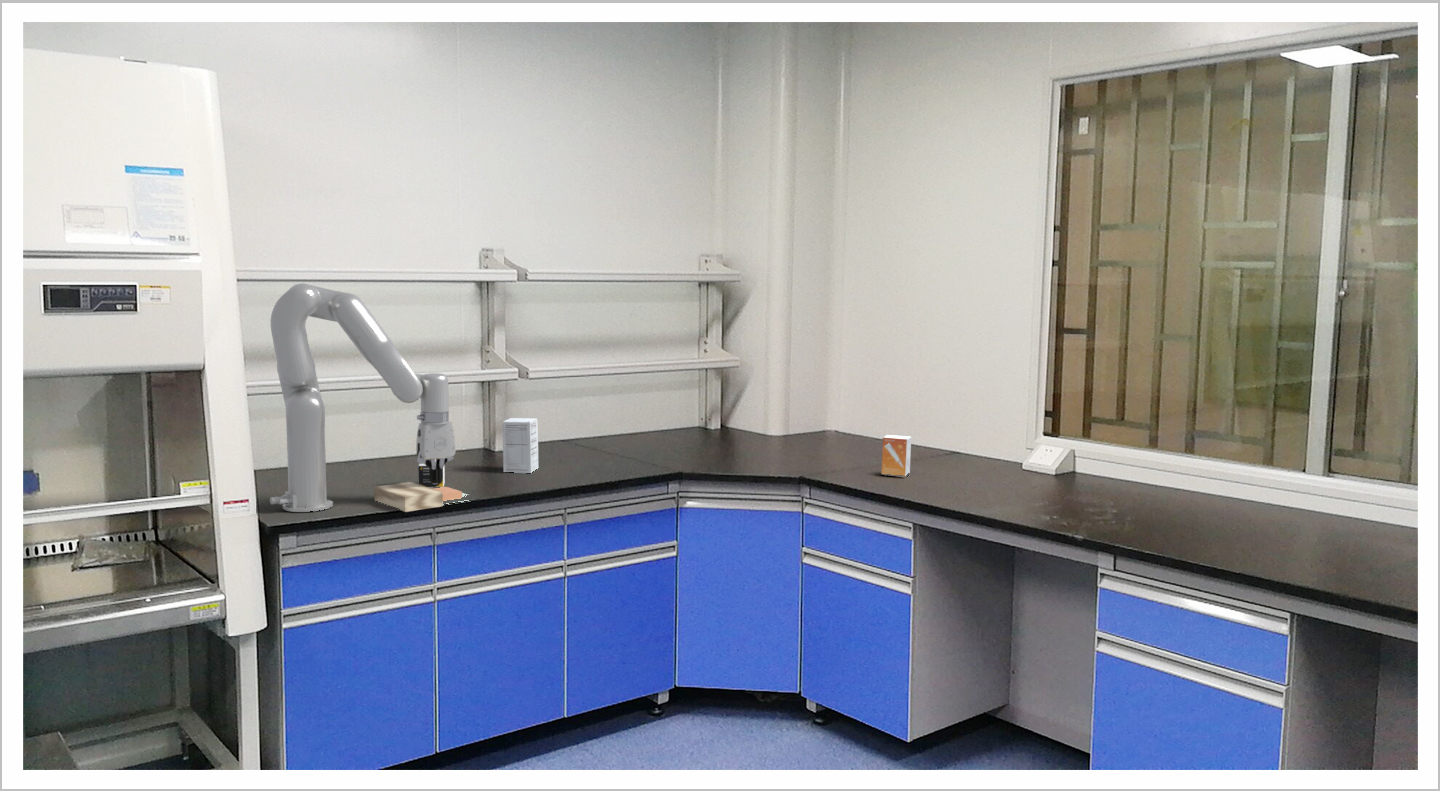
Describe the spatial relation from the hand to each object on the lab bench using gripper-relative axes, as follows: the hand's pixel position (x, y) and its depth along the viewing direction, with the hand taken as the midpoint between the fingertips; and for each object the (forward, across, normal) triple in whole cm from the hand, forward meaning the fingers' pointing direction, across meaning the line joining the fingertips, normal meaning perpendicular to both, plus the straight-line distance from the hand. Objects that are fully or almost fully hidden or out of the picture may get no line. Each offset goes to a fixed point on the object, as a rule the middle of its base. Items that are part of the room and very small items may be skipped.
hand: (435, 482), depth 300 cm
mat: (+5, +4, 0) cm, 6 cm away
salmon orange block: (+3, +2, 0) cm, 4 cm away
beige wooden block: (+5, -8, 0) cm, 10 cm away
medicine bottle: (+5, +8, +18) cm, 21 cm away
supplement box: (+5, +42, +22) cm, 48 cm away
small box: (+5, +132, -61) cm, 145 cm away
